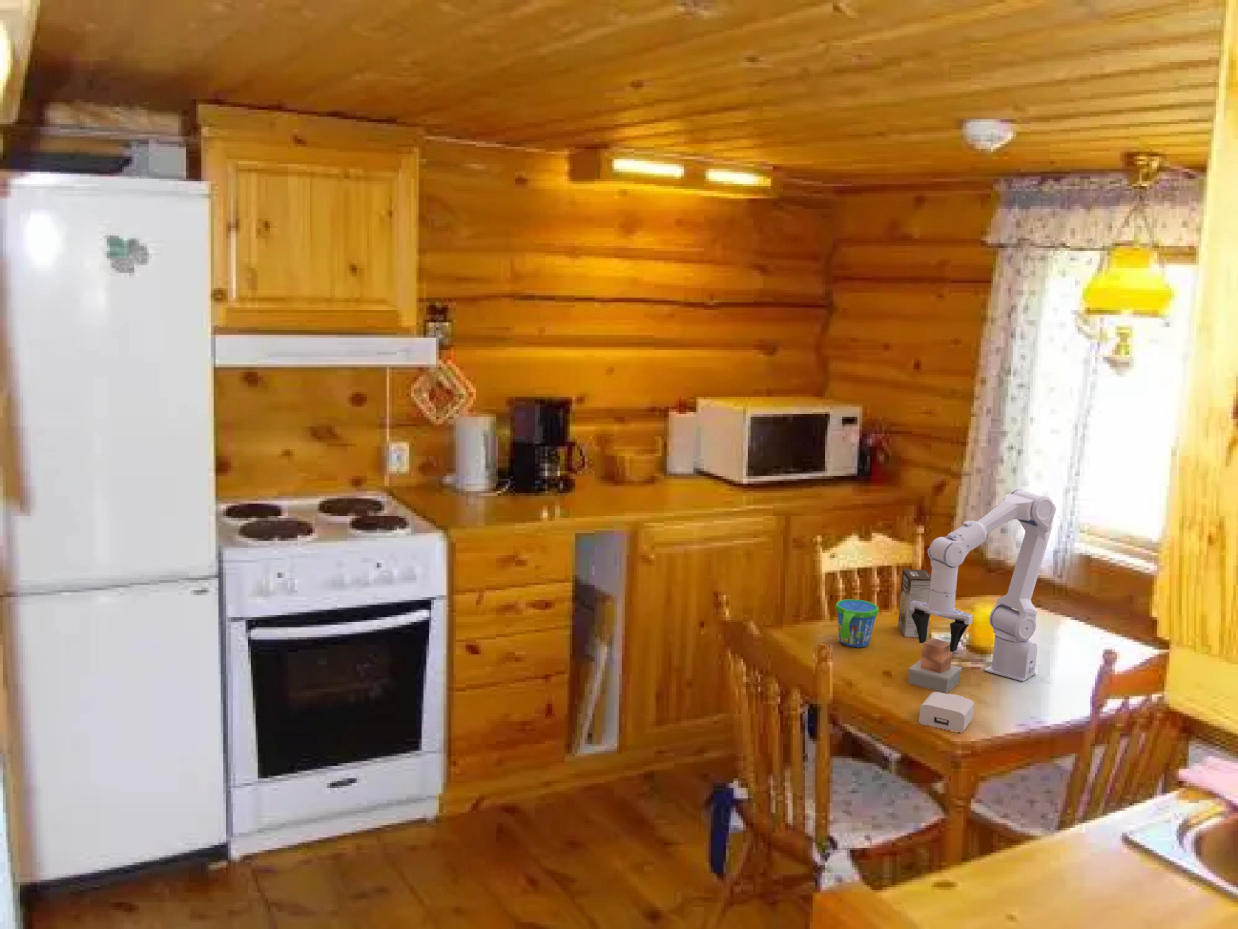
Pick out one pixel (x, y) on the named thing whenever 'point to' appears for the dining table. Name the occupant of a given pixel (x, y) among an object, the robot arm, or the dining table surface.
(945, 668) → the terracotta block
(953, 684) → the slate box
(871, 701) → the dining table surface
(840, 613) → the snack cup
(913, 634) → the coffee box
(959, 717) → the charger
